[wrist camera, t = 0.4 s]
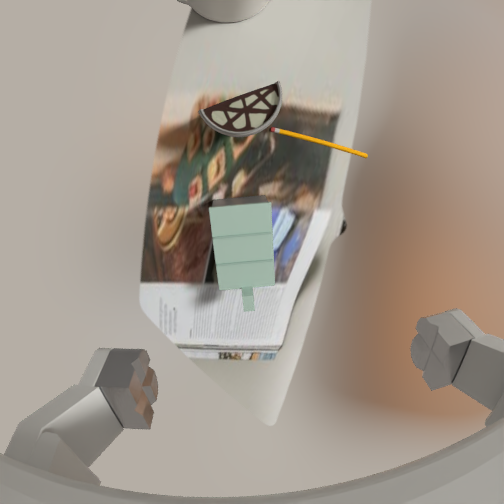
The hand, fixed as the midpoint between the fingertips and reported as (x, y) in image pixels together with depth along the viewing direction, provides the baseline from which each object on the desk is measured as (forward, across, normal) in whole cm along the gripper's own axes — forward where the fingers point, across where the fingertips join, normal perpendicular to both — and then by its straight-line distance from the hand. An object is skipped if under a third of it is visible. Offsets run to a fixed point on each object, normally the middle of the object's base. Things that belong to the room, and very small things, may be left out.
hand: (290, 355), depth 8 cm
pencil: (+46, -14, -4) cm, 48 cm away
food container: (+46, -1, -8) cm, 47 cm away
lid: (+40, +1, +14) cm, 42 cm away
